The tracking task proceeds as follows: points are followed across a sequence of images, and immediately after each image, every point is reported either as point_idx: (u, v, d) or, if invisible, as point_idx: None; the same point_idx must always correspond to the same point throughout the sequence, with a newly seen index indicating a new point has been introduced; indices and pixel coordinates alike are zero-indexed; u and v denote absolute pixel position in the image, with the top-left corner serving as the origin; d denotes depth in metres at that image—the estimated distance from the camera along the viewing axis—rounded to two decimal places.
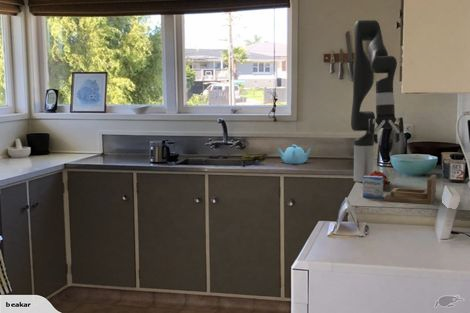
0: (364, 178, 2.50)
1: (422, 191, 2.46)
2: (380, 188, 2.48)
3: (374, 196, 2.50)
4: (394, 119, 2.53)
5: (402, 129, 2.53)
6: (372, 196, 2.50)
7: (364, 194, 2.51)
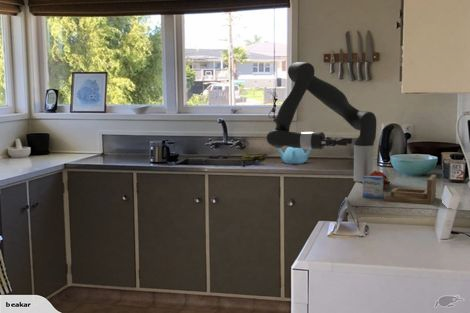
0: (364, 178, 2.50)
1: (422, 191, 2.46)
2: (380, 188, 2.48)
3: (374, 196, 2.50)
4: None
5: (332, 145, 2.52)
6: (372, 196, 2.50)
7: (364, 194, 2.51)
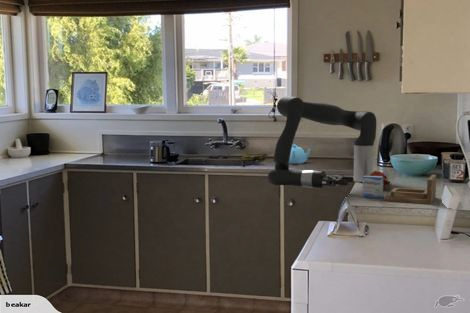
0: (364, 178, 2.50)
1: (422, 191, 2.46)
2: (380, 188, 2.48)
3: (374, 196, 2.50)
4: None
5: None
6: (372, 196, 2.50)
7: (364, 194, 2.51)
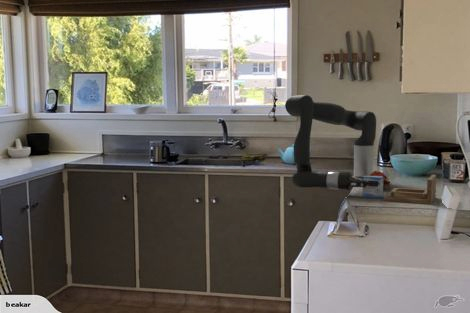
0: (364, 178, 2.50)
1: (422, 191, 2.46)
2: (380, 188, 2.48)
3: (374, 196, 2.50)
4: None
5: None
6: (372, 196, 2.50)
7: (364, 194, 2.51)
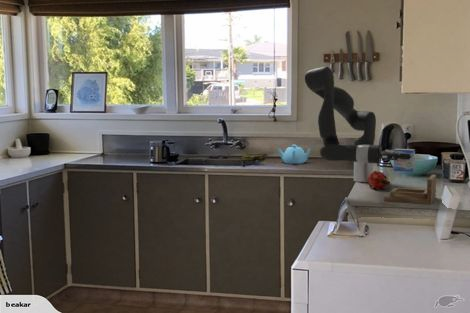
0: (395, 151, 2.43)
1: (422, 191, 2.46)
2: (412, 161, 2.41)
3: (405, 169, 2.42)
4: None
5: (395, 159, 2.41)
6: (403, 169, 2.43)
7: (395, 167, 2.44)
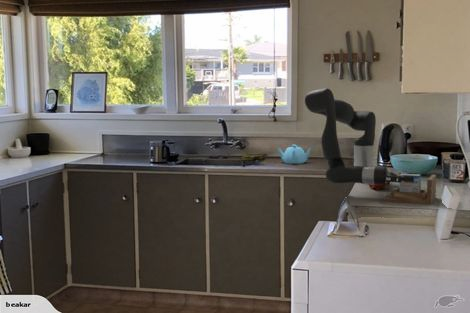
0: None
1: (422, 191, 2.46)
2: (418, 186, 2.42)
3: None
4: None
5: None
6: None
7: None
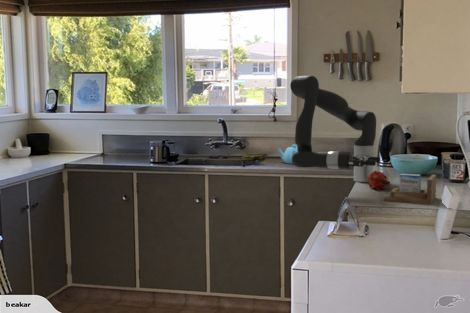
0: (401, 176, 2.44)
1: (422, 191, 2.46)
2: (418, 187, 2.42)
3: None
4: None
5: None
6: None
7: None
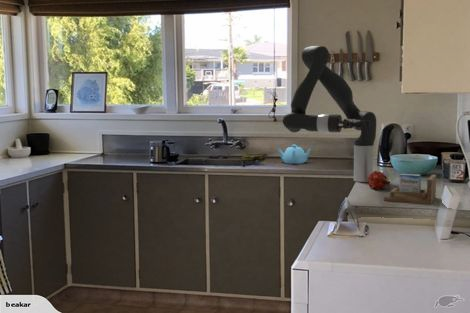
0: (401, 176, 2.44)
1: (422, 191, 2.46)
2: (418, 187, 2.42)
3: None
4: None
5: (350, 127, 2.48)
6: None
7: None
